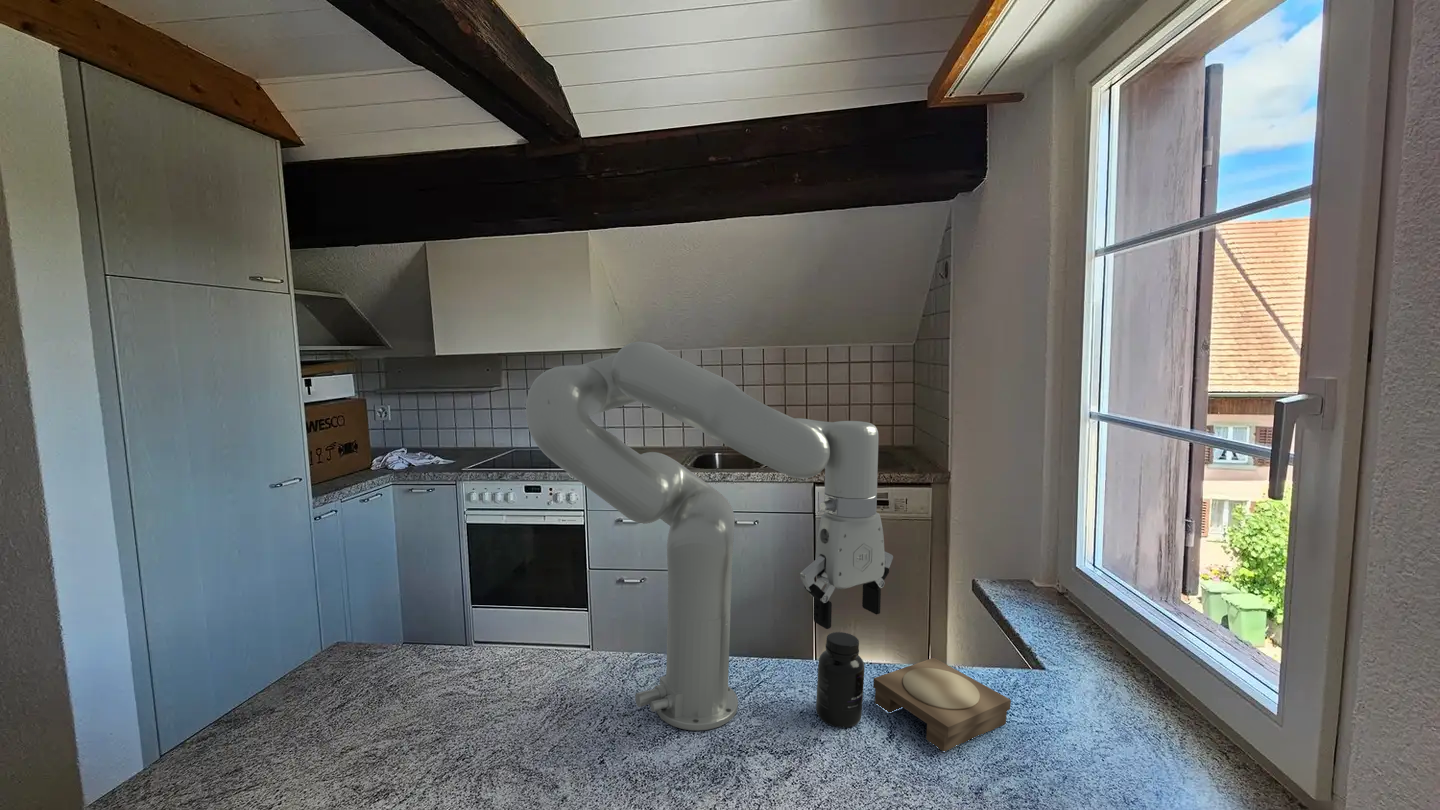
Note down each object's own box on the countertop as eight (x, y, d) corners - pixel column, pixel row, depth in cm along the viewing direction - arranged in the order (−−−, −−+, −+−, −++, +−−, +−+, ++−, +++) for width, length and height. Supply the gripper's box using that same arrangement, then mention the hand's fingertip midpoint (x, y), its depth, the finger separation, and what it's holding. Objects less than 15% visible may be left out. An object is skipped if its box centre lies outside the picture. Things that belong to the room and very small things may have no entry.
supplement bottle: (862, 732, 86) (866, 652, 85) (814, 725, 87) (818, 646, 86) (861, 705, 92) (864, 631, 91) (816, 699, 94) (820, 626, 93)
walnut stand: (946, 755, 81) (948, 725, 81) (872, 702, 93) (873, 676, 93) (1009, 725, 88) (1011, 697, 88) (932, 680, 100) (934, 655, 100)
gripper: (821, 519, 79) (818, 642, 81) (911, 503, 88) (907, 615, 90) (787, 506, 86) (785, 621, 87) (874, 493, 95) (871, 597, 96)
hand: (847, 617), depth 88 cm, fingers open, 9 cm apart
